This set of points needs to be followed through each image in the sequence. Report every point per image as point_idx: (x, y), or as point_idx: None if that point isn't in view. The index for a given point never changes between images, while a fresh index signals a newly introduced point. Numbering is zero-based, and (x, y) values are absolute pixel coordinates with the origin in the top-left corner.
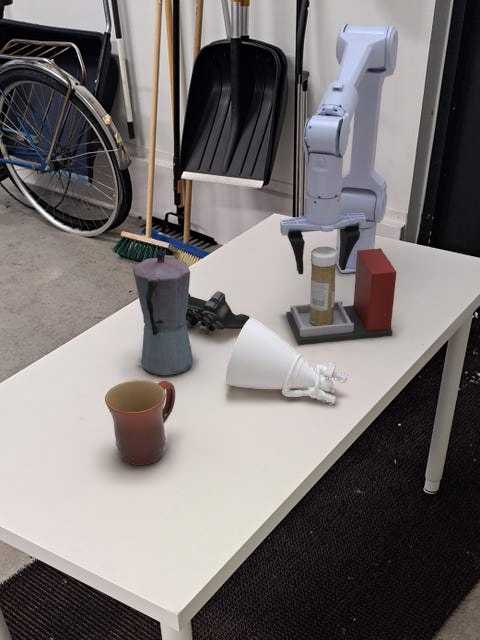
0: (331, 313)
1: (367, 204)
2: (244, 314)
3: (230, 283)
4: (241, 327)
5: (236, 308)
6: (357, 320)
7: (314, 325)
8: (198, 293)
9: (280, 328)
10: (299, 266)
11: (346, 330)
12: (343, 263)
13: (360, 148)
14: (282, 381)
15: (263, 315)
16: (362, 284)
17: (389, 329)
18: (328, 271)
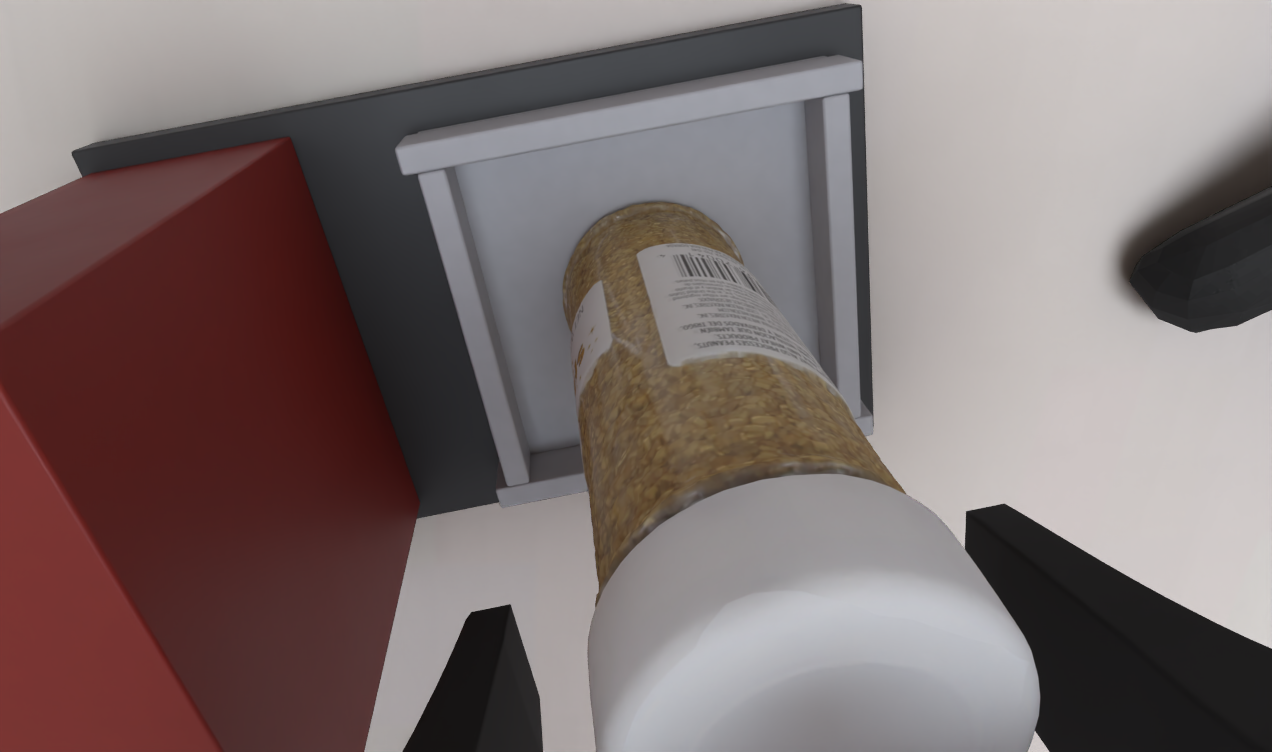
0: (591, 267)
1: None
2: (1236, 290)
3: None
4: (1220, 212)
5: (1126, 495)
6: (381, 319)
7: None
8: (1268, 630)
9: (924, 263)
10: (1084, 551)
11: (462, 127)
12: (487, 664)
13: None
14: None
15: (994, 423)
16: (287, 503)
17: (99, 170)
18: (712, 448)
